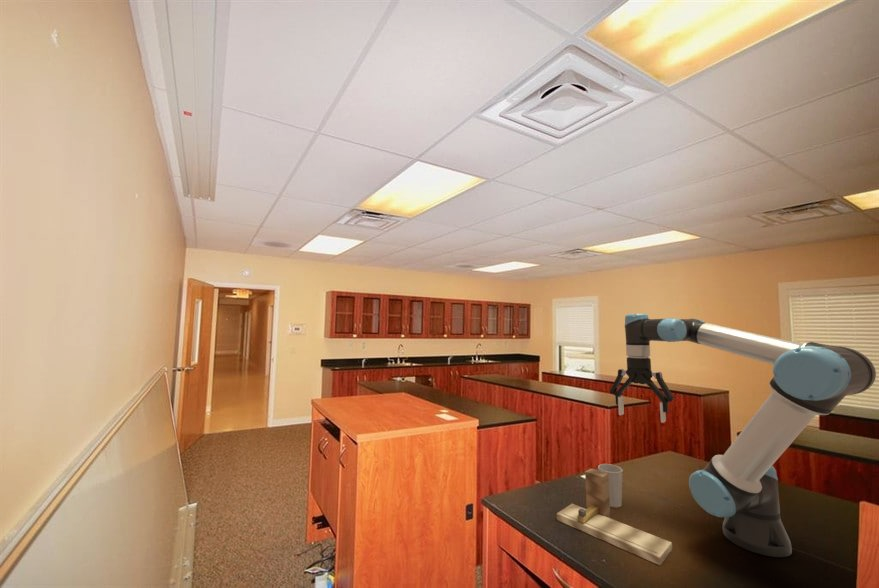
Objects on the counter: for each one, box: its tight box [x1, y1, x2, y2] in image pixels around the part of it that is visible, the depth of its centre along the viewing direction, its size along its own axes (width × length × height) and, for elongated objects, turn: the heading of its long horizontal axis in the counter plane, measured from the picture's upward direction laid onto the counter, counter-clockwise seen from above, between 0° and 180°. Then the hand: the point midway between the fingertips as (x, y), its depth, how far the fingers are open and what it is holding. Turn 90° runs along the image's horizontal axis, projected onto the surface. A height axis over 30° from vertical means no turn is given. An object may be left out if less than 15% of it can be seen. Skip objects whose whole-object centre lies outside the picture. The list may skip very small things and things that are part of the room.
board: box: [556, 503, 673, 566], centre depth 109 cm, size 30×10×2 cm, turn 41°
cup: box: [597, 463, 624, 508], centre depth 128 cm, size 8×8×12 cm
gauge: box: [577, 468, 611, 523], centre depth 116 cm, size 6×14×14 cm, turn 132°
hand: (641, 418), depth 126 cm, fingers open, 13 cm apart
